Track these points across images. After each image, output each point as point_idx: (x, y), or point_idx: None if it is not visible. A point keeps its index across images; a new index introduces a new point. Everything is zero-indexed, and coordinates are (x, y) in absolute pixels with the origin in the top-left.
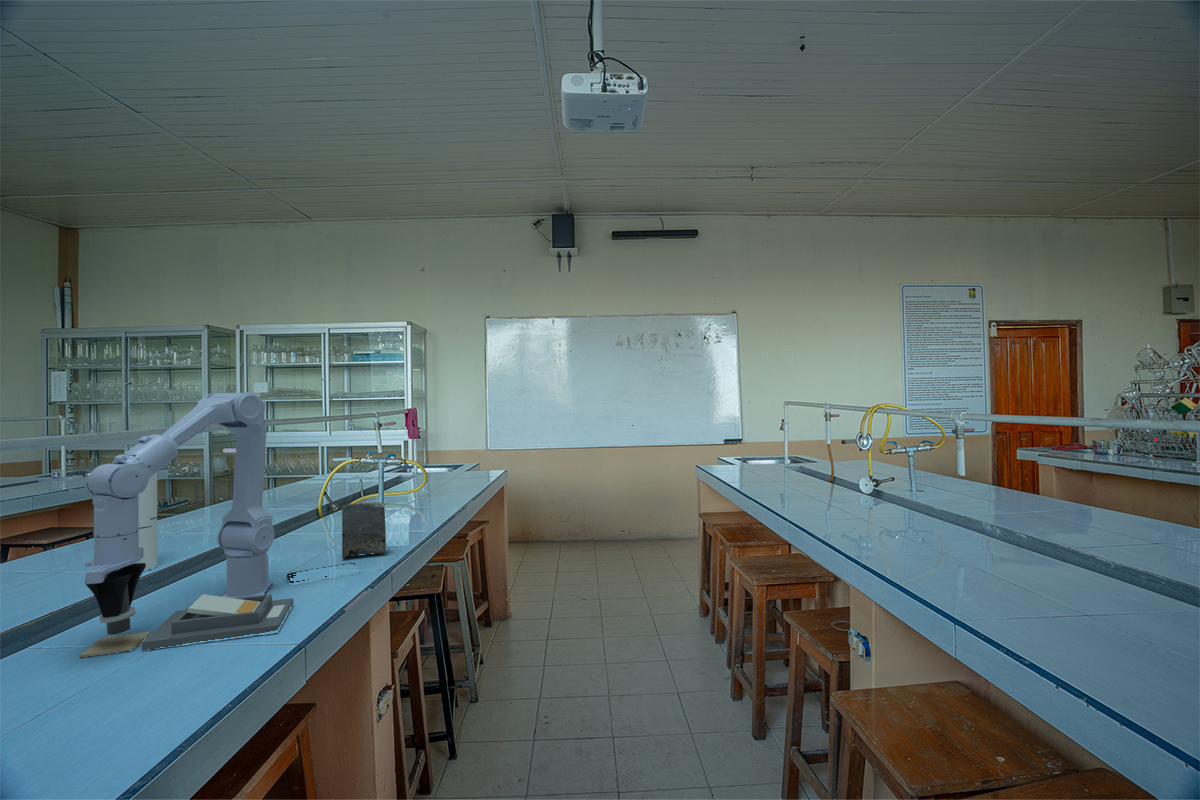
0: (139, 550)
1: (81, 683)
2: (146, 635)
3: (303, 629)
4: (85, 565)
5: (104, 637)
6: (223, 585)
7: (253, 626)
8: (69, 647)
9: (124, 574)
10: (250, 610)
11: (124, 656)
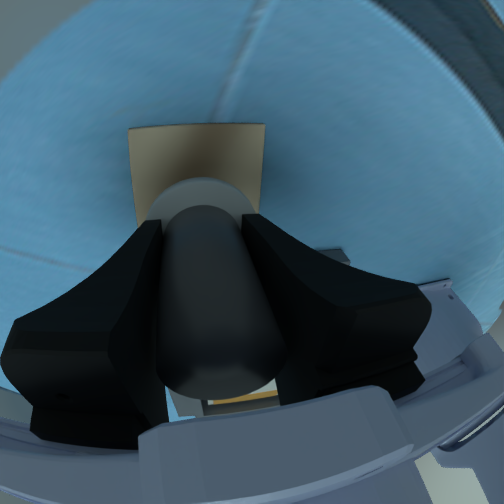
0: (432, 449)
1: (5, 225)
2: None
3: (187, 417)
4: (156, 444)
5: (258, 131)
6: (468, 257)
7: (183, 400)
8: (237, 52)
9: (293, 376)
10: (229, 402)
11: (116, 239)
